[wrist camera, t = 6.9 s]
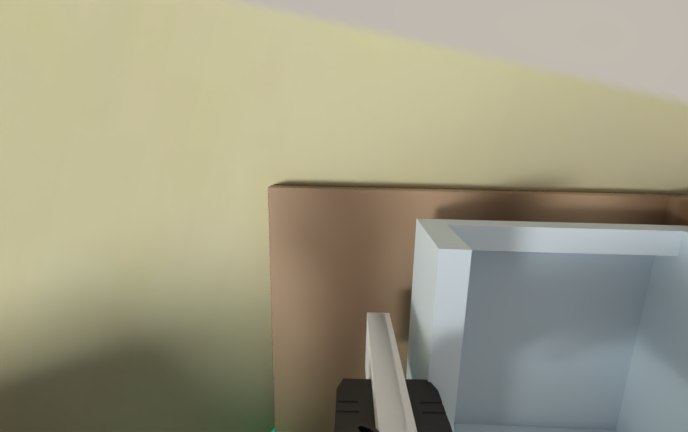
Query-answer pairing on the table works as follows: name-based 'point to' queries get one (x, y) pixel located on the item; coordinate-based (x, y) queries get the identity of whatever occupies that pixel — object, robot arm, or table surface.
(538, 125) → the table surface
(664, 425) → the light blue holder
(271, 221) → the track
